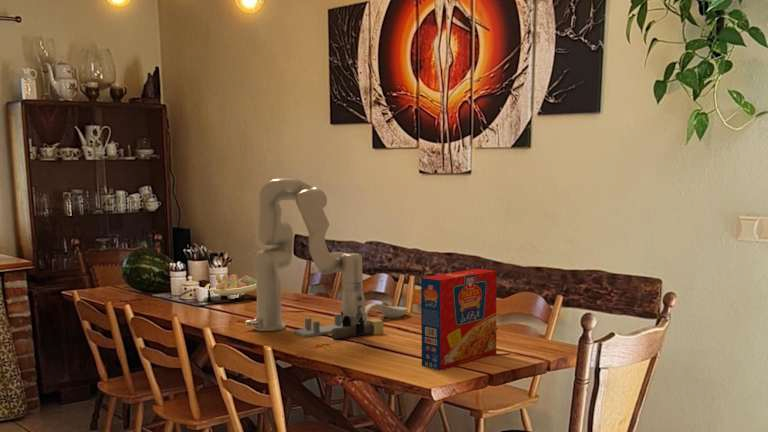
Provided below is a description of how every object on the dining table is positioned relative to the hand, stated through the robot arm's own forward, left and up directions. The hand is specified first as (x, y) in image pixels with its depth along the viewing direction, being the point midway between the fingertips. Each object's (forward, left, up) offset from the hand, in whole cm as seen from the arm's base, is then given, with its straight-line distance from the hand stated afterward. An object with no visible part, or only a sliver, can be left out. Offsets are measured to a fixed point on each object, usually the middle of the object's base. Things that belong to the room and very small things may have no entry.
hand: (353, 331), depth 255 cm
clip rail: (-3, +14, -2) cm, 14 cm away
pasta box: (+12, -48, -2) cm, 49 cm away
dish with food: (-8, +103, -2) cm, 104 cm away
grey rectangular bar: (+2, 0, -2) cm, 3 cm away
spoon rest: (+27, +21, -2) cm, 34 cm away
